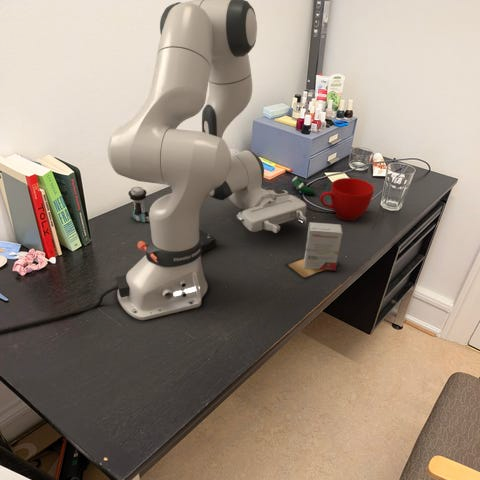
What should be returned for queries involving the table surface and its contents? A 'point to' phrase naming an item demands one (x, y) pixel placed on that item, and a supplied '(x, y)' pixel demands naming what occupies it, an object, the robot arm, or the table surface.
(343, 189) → the ceramic cup
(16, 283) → the table surface
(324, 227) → the ink box
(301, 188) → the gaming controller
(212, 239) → the disk drive
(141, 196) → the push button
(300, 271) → the gold rectangular plate
